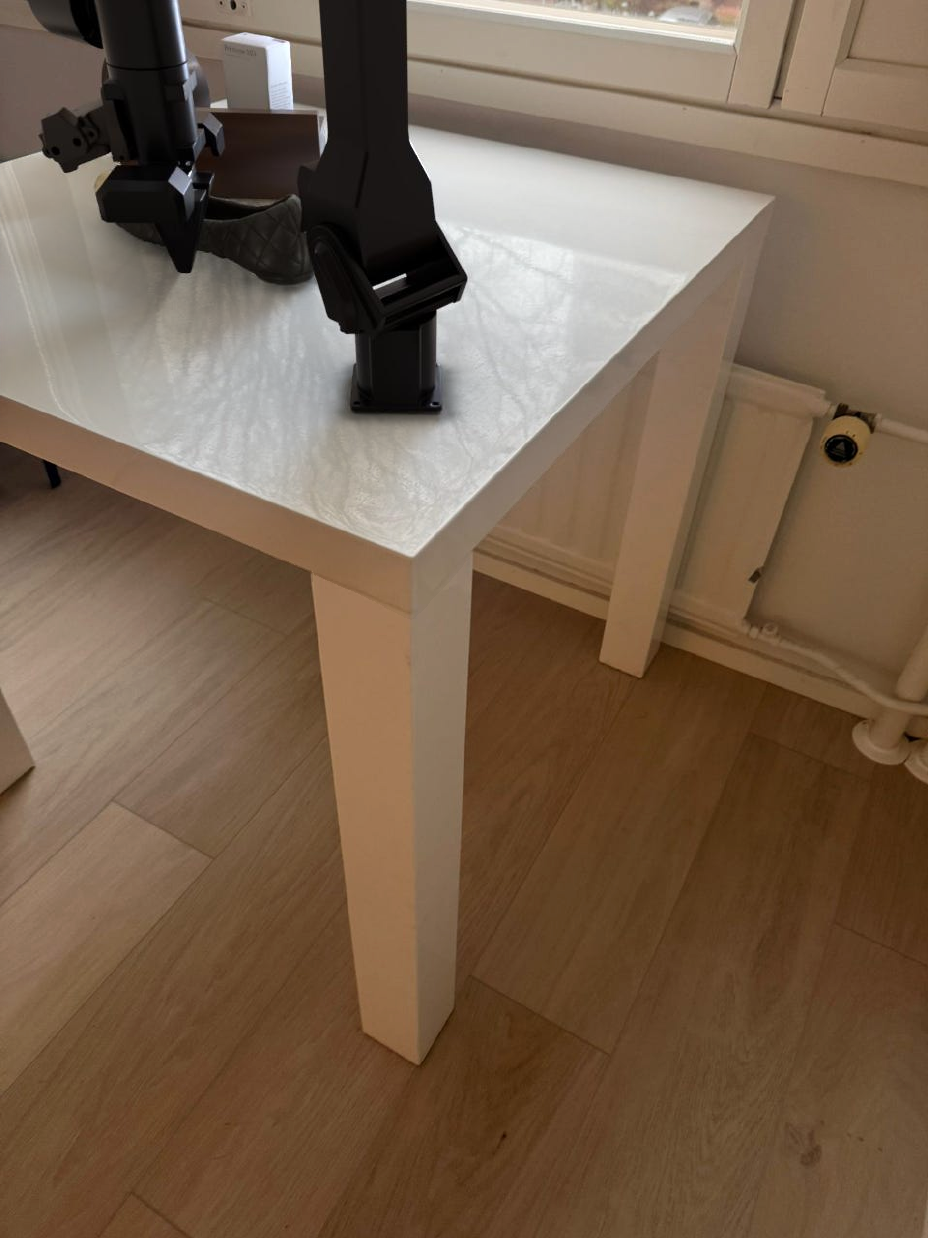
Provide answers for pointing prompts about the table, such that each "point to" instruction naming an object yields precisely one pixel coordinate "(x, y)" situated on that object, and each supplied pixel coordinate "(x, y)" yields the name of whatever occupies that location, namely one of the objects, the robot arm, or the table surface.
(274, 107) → the cosmetic box
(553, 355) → the table surface
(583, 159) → the table surface
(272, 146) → the brown wooden box
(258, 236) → the ballet flat
